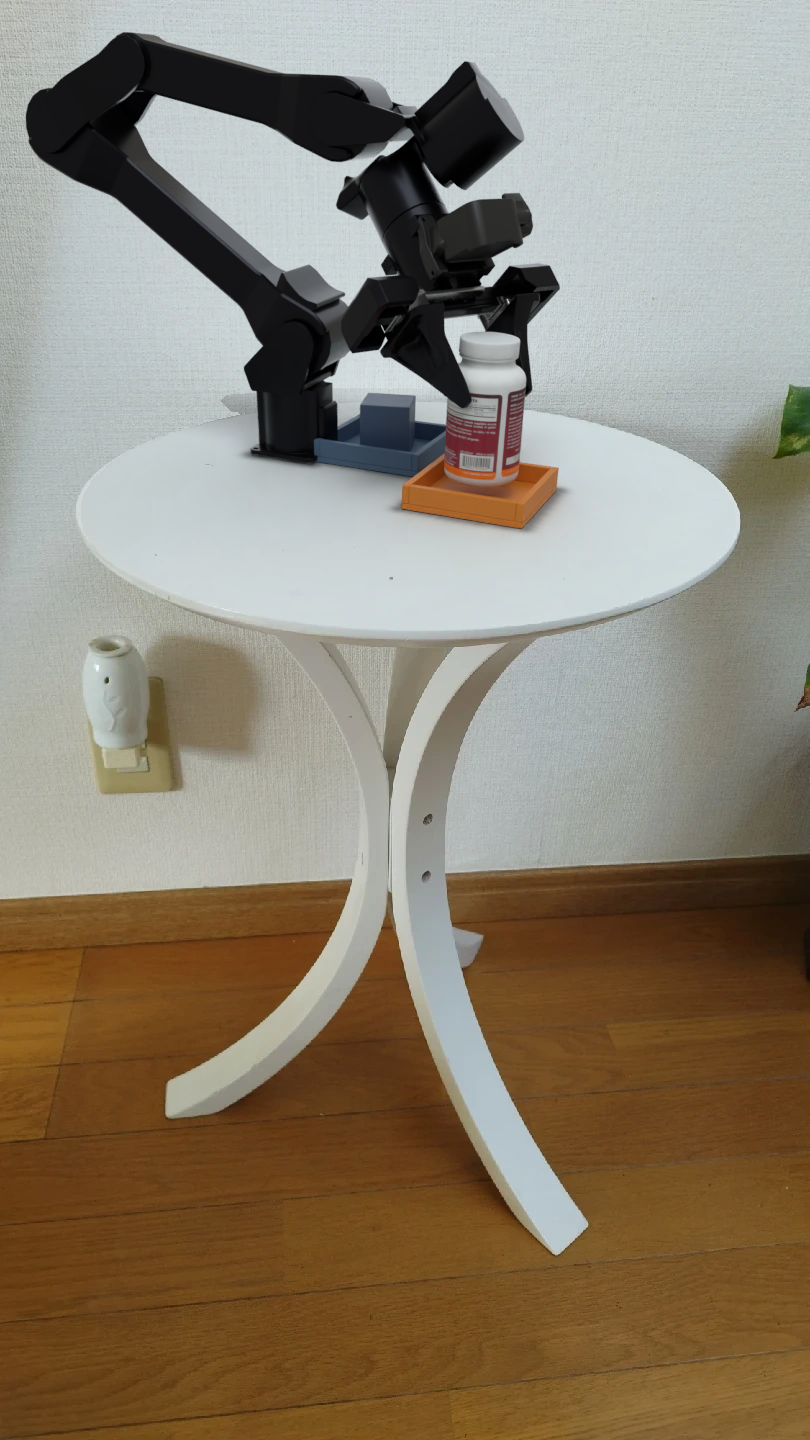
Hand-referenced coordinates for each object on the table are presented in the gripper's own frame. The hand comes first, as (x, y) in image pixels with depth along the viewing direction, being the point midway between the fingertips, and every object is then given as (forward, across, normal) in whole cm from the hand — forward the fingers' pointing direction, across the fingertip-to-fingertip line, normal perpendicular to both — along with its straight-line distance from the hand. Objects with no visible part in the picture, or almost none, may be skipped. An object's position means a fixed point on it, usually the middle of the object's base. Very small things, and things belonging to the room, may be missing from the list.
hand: (497, 399), depth 80 cm
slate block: (-5, +1, +17) cm, 18 cm away
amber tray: (+5, 0, +7) cm, 9 cm away
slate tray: (-5, +1, +17) cm, 18 cm away
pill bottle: (+4, 0, +6) cm, 7 cm away
